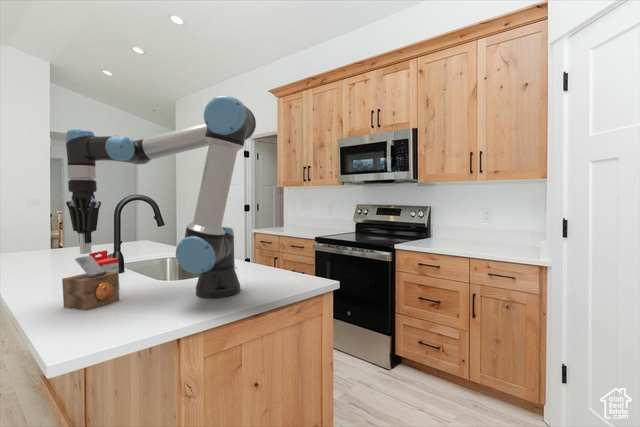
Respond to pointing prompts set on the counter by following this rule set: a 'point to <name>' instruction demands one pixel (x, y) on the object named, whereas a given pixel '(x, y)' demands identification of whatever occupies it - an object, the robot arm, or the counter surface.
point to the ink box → (106, 262)
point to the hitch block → (87, 290)
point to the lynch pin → (103, 291)
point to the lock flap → (90, 266)
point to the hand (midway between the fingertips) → (85, 253)
